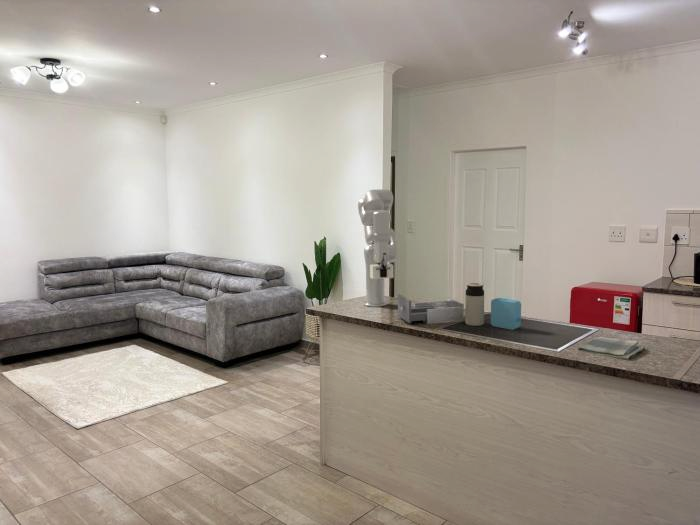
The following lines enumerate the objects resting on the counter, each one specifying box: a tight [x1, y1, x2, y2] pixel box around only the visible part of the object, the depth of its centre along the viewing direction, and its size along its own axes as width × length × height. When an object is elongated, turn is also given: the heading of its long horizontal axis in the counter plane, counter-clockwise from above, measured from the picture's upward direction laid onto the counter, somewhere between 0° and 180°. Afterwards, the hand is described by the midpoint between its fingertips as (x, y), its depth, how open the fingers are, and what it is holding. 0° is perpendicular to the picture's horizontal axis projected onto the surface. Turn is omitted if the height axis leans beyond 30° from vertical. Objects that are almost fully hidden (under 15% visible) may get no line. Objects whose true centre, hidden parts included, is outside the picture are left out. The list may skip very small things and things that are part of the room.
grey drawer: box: [397, 294, 437, 324], centre depth 244 cm, size 15×18×10 cm
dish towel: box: [577, 336, 646, 361], centre depth 195 cm, size 19×18×3 cm
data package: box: [490, 297, 522, 331], centre depth 229 cm, size 12×4×12 cm, turn 43°
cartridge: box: [370, 263, 394, 279], centre depth 251 cm, size 5×10×6 cm, turn 104°
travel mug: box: [464, 281, 485, 327], centre depth 235 cm, size 8×8×18 cm
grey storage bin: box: [414, 296, 465, 325], centre depth 247 cm, size 16×18×8 cm
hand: (381, 275), depth 251 cm, fingers closed on cartridge, 5 cm apart
